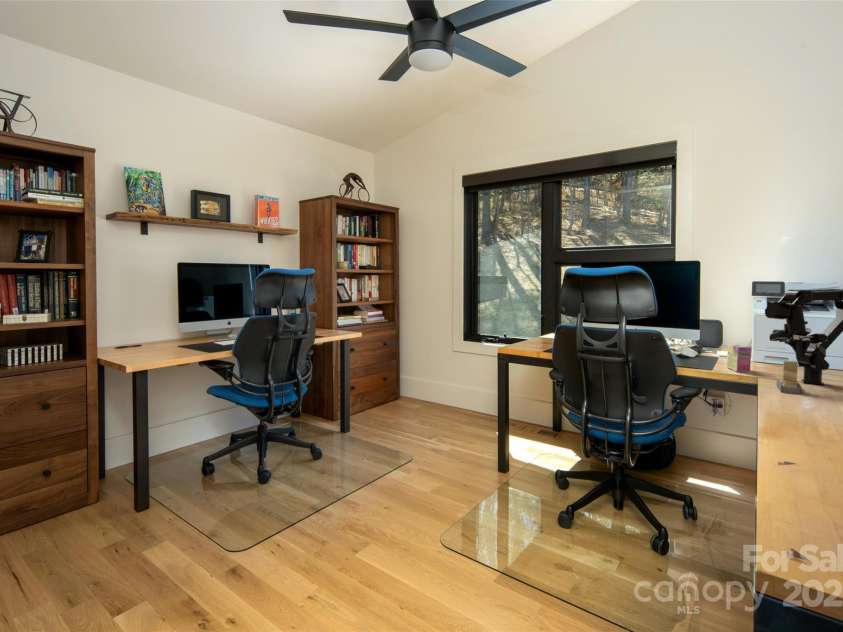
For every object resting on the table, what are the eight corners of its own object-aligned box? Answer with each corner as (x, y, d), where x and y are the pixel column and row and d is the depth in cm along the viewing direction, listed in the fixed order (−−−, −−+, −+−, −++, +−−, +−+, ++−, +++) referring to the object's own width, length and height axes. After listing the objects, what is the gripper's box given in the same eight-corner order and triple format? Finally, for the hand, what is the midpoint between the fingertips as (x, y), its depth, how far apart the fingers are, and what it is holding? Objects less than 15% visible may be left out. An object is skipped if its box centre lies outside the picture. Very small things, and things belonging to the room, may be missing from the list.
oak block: (782, 383, 179) (783, 360, 178) (795, 384, 177) (796, 361, 176) (784, 385, 175) (785, 362, 175) (797, 387, 173) (798, 363, 173)
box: (750, 372, 210) (751, 347, 210) (736, 372, 212) (737, 346, 211) (739, 368, 221) (740, 344, 220) (726, 368, 222) (727, 343, 221)
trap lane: (776, 385, 184) (776, 378, 184) (795, 387, 181) (795, 380, 181) (780, 392, 174) (781, 385, 174) (801, 394, 171) (801, 386, 170)
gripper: (802, 327, 192) (809, 364, 188) (757, 324, 193) (762, 361, 188) (825, 319, 182) (832, 359, 177) (777, 316, 182) (783, 355, 178)
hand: (801, 358), depth 181 cm, fingers closed
